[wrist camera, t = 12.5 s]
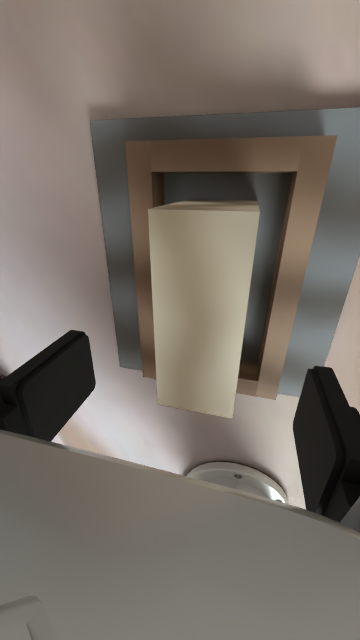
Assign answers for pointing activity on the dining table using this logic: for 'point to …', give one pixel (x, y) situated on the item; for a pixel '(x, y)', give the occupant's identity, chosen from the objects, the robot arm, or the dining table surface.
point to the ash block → (201, 299)
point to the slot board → (272, 235)
